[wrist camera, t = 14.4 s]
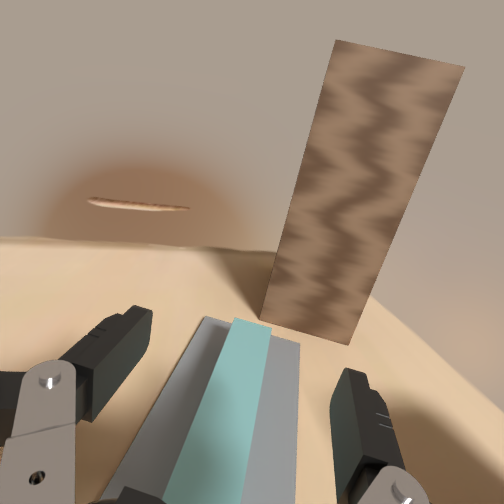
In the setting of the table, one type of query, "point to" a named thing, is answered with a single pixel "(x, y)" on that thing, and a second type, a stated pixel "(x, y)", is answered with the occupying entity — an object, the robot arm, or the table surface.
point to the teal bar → (223, 423)
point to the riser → (355, 184)
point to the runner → (185, 408)
